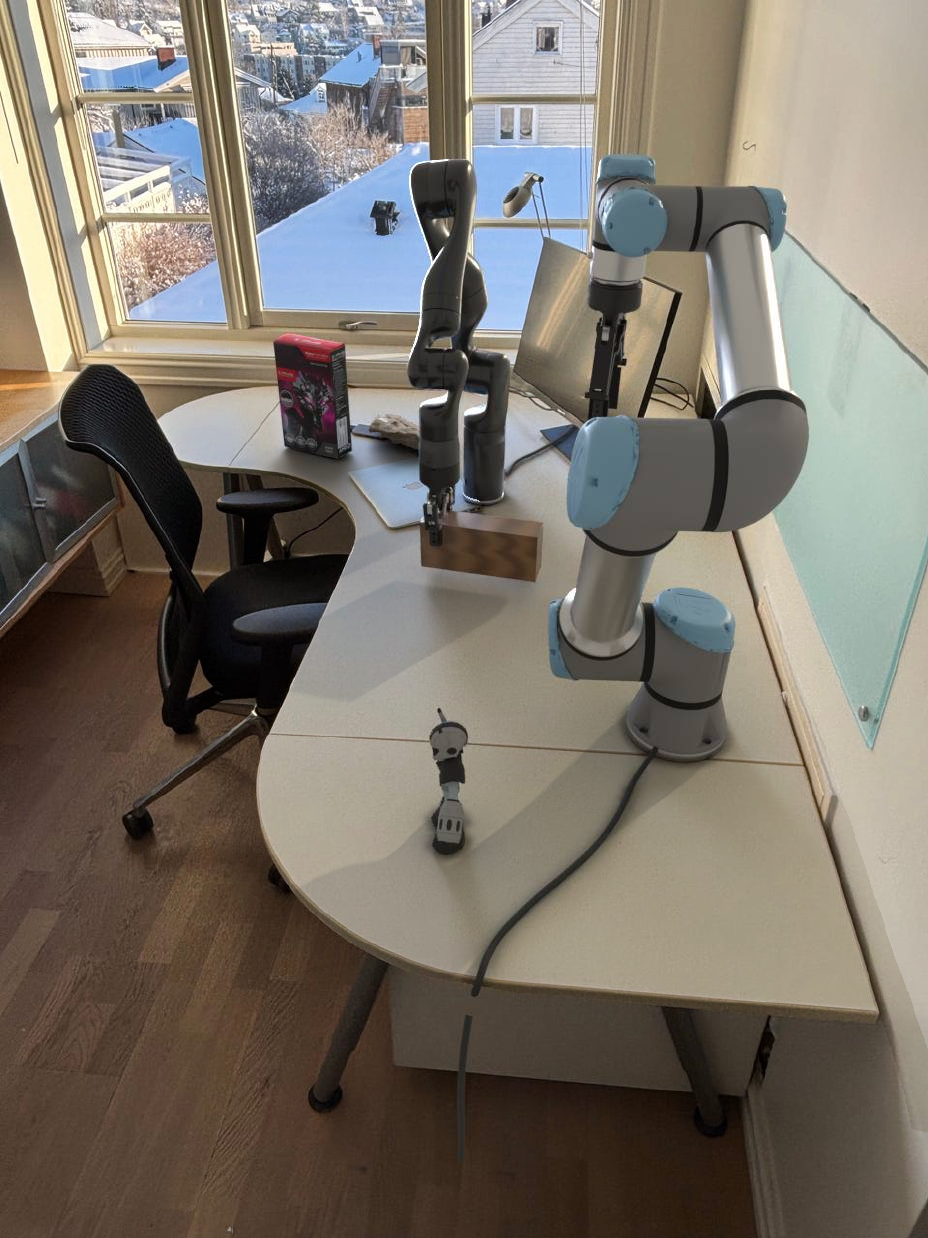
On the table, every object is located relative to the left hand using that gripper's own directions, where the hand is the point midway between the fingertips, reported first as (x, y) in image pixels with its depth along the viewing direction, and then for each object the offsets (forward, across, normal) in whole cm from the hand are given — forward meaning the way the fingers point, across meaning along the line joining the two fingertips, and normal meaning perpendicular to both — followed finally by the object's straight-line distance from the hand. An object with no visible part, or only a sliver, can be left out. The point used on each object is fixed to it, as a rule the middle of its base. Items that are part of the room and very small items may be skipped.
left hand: (440, 536), depth 178 cm
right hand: (-33, +16, +31) cm, 48 cm away
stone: (+9, -58, -26) cm, 65 cm away
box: (+5, 0, +8) cm, 10 cm away
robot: (+7, +66, +20) cm, 69 cm away
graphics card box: (+9, -49, -46) cm, 68 cm away
